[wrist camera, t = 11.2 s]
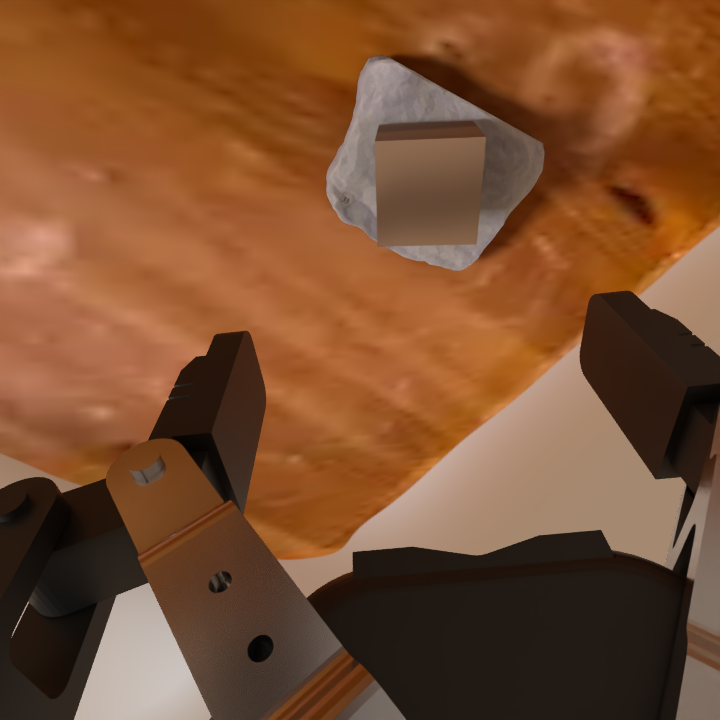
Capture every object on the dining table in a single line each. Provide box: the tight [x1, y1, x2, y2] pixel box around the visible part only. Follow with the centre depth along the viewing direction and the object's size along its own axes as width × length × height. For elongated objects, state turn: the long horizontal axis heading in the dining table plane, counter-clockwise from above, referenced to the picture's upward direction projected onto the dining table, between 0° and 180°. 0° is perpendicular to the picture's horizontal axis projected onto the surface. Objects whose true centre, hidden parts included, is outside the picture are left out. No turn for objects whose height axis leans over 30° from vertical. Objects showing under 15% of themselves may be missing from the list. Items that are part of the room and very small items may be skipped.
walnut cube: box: [375, 121, 486, 247], centre depth 25 cm, size 5×5×5 cm
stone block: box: [326, 55, 545, 271], centre depth 30 cm, size 12×5×10 cm
